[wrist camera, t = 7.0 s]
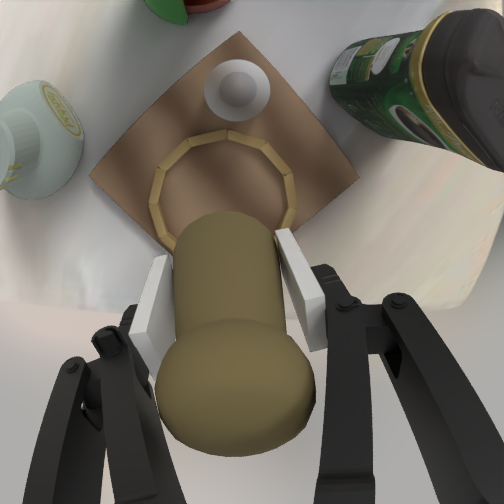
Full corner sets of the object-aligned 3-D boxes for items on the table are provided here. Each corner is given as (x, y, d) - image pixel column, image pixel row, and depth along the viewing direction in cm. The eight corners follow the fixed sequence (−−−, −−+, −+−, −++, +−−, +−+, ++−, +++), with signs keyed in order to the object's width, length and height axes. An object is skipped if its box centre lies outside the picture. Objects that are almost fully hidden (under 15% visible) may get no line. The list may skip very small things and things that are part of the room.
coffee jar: (424, 89, 25) (577, 110, 9) (390, 148, 28) (538, 211, 11) (352, 28, 22) (497, -23, 6) (312, 91, 25) (449, 85, 9)
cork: (201, 318, 19) (198, 484, 10) (153, 236, 17) (91, 402, 7) (292, 284, 19) (353, 444, 9) (257, 193, 16) (316, 335, 6)
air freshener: (-1, 124, 22) (-64, 141, 13) (50, 68, 21) (-13, 62, 12) (50, 202, 27) (-4, 243, 18) (105, 152, 26) (56, 176, 17)
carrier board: (237, 34, 22) (244, 10, 16) (353, 174, 29) (390, 196, 22) (94, 171, 26) (59, 194, 20) (216, 286, 33) (216, 333, 26)
